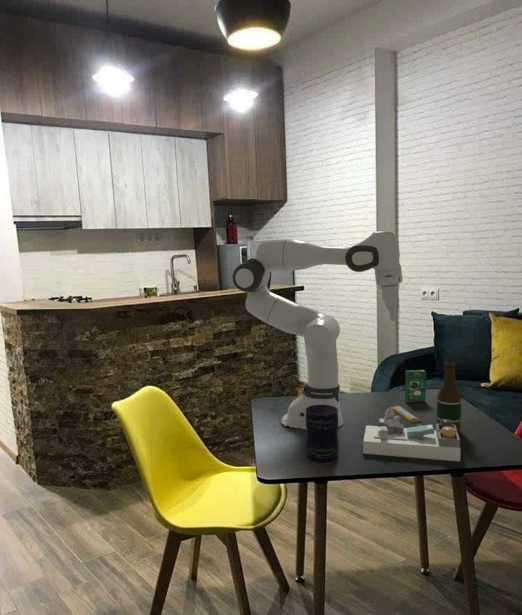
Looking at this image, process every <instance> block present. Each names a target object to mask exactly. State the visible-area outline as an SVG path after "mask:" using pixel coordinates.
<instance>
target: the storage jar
mask: <svg viewBox="0 0 522 615" xmlns="http://www.w3.org/2000/svg"><path fill="white" fill-rule="evenodd" d="M337 413H338V409H337V408H336V407H334V406H330V405H313V406H309V407H307V408H306V428H307V429H306V439H305V444H306V445H305V449H306V458H307V460H308V461H310V462H312V463H316V464H331V463H335V462H336V461H337V460H338V459H339V449H340V448H339V438H338V428H339V427H338V414H337Z"/></svg>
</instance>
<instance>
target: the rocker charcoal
mask: <svg viewBox="0 0 522 615" xmlns="http://www.w3.org/2000/svg"><path fill="white" fill-rule="evenodd" d="M388 425H390V426H393V431H396V432H400V433H403V430H404V428H405V425H404V424H403V423H401V422H400V423H396V422H392V421H389V420H385V419H383V418H380V417H378V420H377V426H378V427H381V426H385V427H387V429H388Z"/></svg>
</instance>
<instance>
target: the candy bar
mask: <svg viewBox="0 0 522 615" xmlns="http://www.w3.org/2000/svg"><path fill="white" fill-rule="evenodd" d="M390 409H392V410H393V411H394V412H395V413H396V414H398V413H399V414H398V415H399V416H401V415H402V416H401V417H403V418H404V419H406V420H407V421H409V422H410V423H418V422H421V421H422V419H421V418H418V417H417V416H414V414H412V413H410V412H409V411H407V410H406V409H404V407H402V406H401V405H395V406H390Z"/></svg>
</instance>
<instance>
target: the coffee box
mask: <svg viewBox="0 0 522 615" xmlns="http://www.w3.org/2000/svg"><path fill="white" fill-rule="evenodd" d="M404 377H405V379H404V380H405V382H404V383H405V384H404V385H405V386H404V387H405V388H404V402H405V403H406V404H409V403H411V404H412V403H424V402H425V403H426V390H427V371H426V370H424V369H414V370H413V369H412V370H411V369H410V370H405V376H404Z"/></svg>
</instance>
